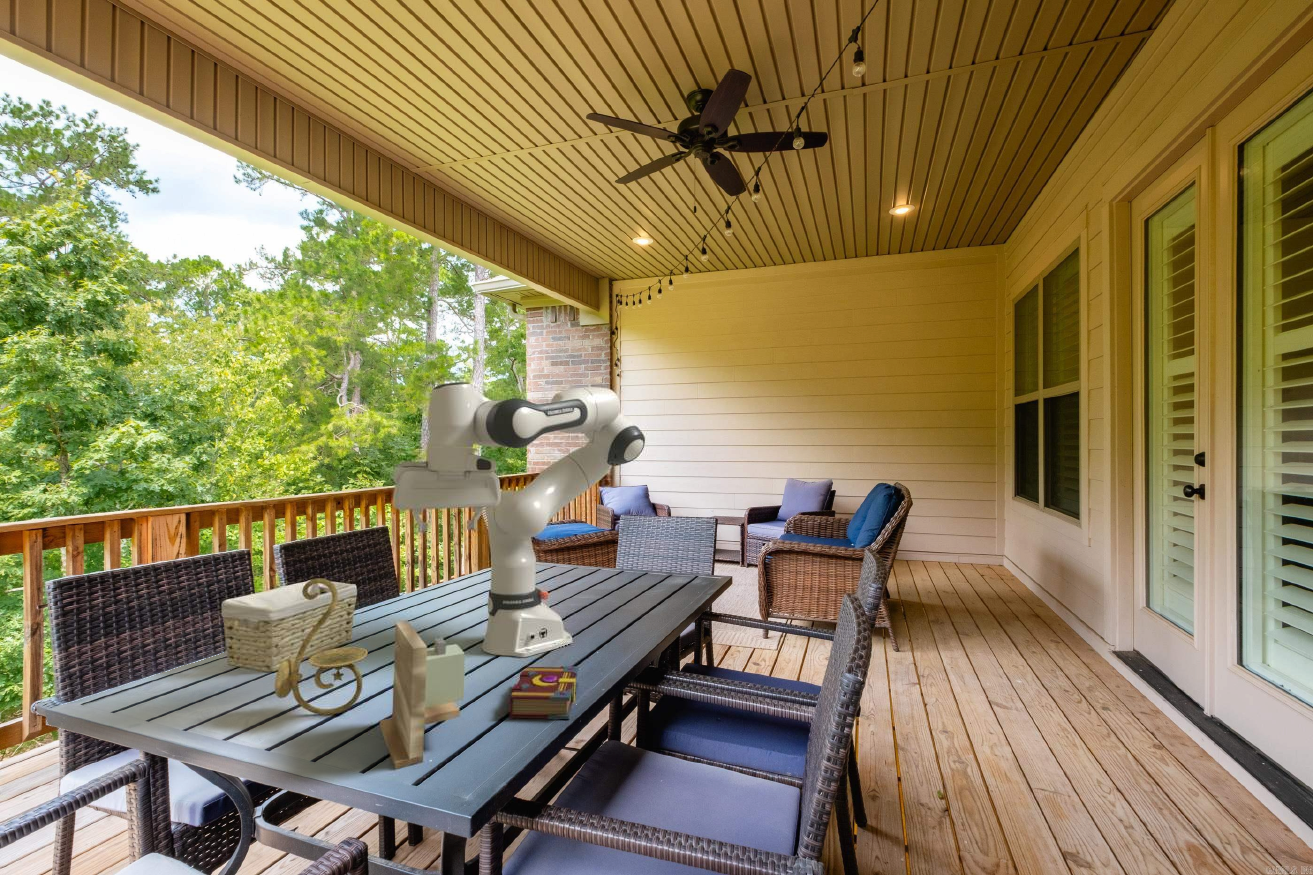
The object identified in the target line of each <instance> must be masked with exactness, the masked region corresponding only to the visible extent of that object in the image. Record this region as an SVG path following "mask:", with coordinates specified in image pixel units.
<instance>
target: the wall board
mask: <svg viewBox="0 0 1313 875" xmlns="http://www.w3.org/2000/svg"><path fill="white" fill-rule="evenodd" d="M394 629H395V632H394V633H395V634H394V656H393V657H394V661H393V684H392V685H393V689H392V713H391V714H392V716H391V717H390V718H385V719H381V720H379V728H380V730H381V731H380V732H381V733H382V736H383V739H384V741H385V744H386V748H387V750H388V752H389V755H390V758H391V761H392V764H393V767H394V769H395V770H397V769H402V768H406V767H409V766H414V765H417V764H420V763H423V762H424V744H425V743H424V741H425V725H429V724H434V723H439V722H443V721H447V720H451V719H455V718H460V716H461V715H460V714H461V712H460V711H461V710H460V707H459V706H458V704H456V702H451V703H447V704H442V705H438V706H433V707H429V708H425V689H426V660H427V649H428V646H427V645H426V644H425V642H424V641H423V639H422V638H421V637H420V635H419V634H418V632H417V631H416V630H415V628H414V627H413V626H412V624H411V623H410V621H408V620H403V621H395V628H394Z"/></svg>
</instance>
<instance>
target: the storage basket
mask: <svg viewBox="0 0 1313 875" xmlns="http://www.w3.org/2000/svg"><path fill="white" fill-rule="evenodd" d="M310 580H311V579H310ZM310 580H307V581H303V582H297V583H293V584H289V585H284V586H281V587H277V588H273V589H269V590H264V591H260V592H256V593H252V594H247V595H243V596H238V597H237V596H236V597H233V598H228V599H225V600H224V601H222V603H221V617H222V620H223V622H224V624H223V627H224V638H225V648H226V656H227V658H226V660H227V663H228V665H230V666H235V667H239V668H245V669H250V670H255V671H261V672H264V673H265V672H266V673H267V672H270V673H272V672H276V671H278V670H279V667H280V666H281V664H282V663H283V661H284V660H286V659H288V658H291V659H294V661H295V660H296V657H297V654H298V652H299V650H300V647H301V645H302V643H303V642H304V640H305V638H306V637H307V635H308V634H309V632H310V631H311V630H312V629H313V627H314V626H315V625H316V624H317V622H318V621H319V620H320V619H321V618H322V616H323V615H324V614H325V613H326V611H327V610H328V608H329V607H330V605H331V602H332V593H331V590H330V589H329V588H328V586H326V585H324V584H321V583H316V584H313V585H311V586H310V587H309V588H308V594H309V595H314V594H315V593H316V592H317V593H318V596H317V597H316V598H315V599H312V600H308V599H306V598H305V597H304V596H303V593H302V590H303V587H304V586H305V584H306V583H307V582H309V581H310ZM330 582H331V583H332V584H334V586H335V587H336V590H337V593H338V601H337V604H336V607H335V609H334V610H333V612H332V613H331V615H330V616H329V617H328V619H327V620H326V621H325V622H324V623H323V625H322V626H321V627H320V628H319V630H318V631H317V632H316V633H315V635H314V636H313V637H312V639H311V641H310V642H309V644H308V646H307V648H306V650H305V652H304V654H303V657H302V659H301V662H303V661H305V660H307V659H310V657H312V656H313V655H315V654H317V653H320V652H323V651H326V650H331V649H336V648H338V647H339V646H342V645H344V644H347V643H349V642H351V641H352V635H353V626H354V619H355V618H354V617H355V608H356V602H357V595H358V589H357V588H358V587H357V585H356V584H353V583H352V584H351V583H345V582H337V581H330ZM322 592H324V593H322Z"/></svg>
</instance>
